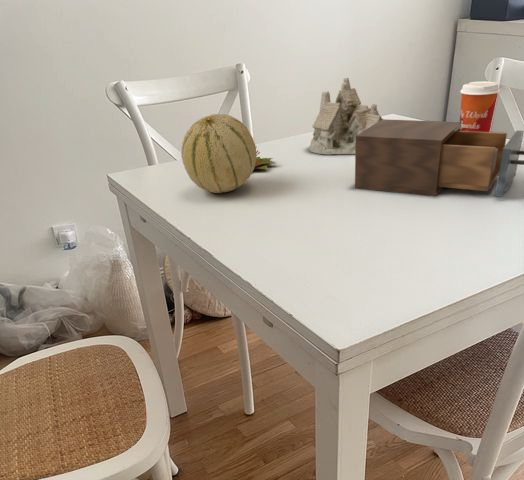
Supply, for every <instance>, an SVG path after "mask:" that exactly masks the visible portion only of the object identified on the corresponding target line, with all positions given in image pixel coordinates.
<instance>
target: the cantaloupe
mask: <svg viewBox="0 0 524 480" xmlns="http://www.w3.org/2000/svg"><path fill="white" fill-rule="evenodd" d="M181 144H182V145H181V152H180V153H181V160H182V164H183V166H184V167H183V168H184V169H185V171H186V173H187V175H188V178H189V179H190V180H191V181H192V182H193V183H194V184H195V185H196V186H197V187H198V188H200V189H201V190H204V191H206V192H208V193H209V192H211V193H214V194H222V193H230V192H232V191H234V190H237V189H239V188H240V187H241V186H243V185H244V184H245V183H246V182H247V181H248V179H250V178H251V176H252V174H253V172H254V170H255V169H254V167H255V164H256V157H257V156H256V155H257V153H256V152H257V146H256V143H255V141H254V138H253V136H252V134H251V132H250V131H249V129H248V128H247V126H246V125H245V124H244V123H243V122H242V121H241V120H239V119H237V118H236V117H234V116H232V115H229V114H224V113H223V114H221V113H212V114H209V115H206V116H203V117H201V118H200V119H198V120H196V121H195V122H194V123H192V125H191V126H190V127H189V128H188V130H187V131H186V133H185V134H184V136H183V140H182V142H181Z"/></svg>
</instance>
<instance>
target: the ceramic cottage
mask: <svg viewBox="0 0 524 480" xmlns="http://www.w3.org/2000/svg"><path fill="white" fill-rule="evenodd" d="M382 119H383V117H382V116H381V115H380V113H379V111H378V105H377V103H373V104H371V106H370V107H369V106H368V105H365V104H362V102H361V100H360V97H359V95H358V91H357V89H356V88H355V87H352V88H351V83H350V79H349V77H344V78H343V83H341V86H340V90H338V94H337V96H336V99H335V102H331V94H330V92H329V90H327V91H322V92H321V99H320V104H319V112H318V114H317V116H316V118H315V120H314V122H313V124H312V125H311V126H312V128H313V129H314V131H313V133H312V136H313V137H312V139H311V141H310V144H309V152H310V153H314V154H319V155H321V154H322V155H355V152H356V136H357V135H358V134H360V133H361V132H363V131H364V130H366V129H368V128H369V127H371V126H372V125H374V124H375V123H377V122H379V121H380V120H382Z"/></svg>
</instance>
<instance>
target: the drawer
mask: <svg viewBox="0 0 524 480" xmlns="http://www.w3.org/2000/svg"><path fill="white" fill-rule="evenodd" d="M507 136H508V132H503V131H502V132H501V131H500V132H498V131H490V132H479V131H456V132H455V133H454V134H453V135H452V136H451V137H450V138H449V139H447V140H446V141H445V142H444V143H443V144H442V152H441V162H440V171H439V181H438V187H443V188H448V189H459V190H460V189H461V190H469V191H470V190H471V191H482V192H489V190H490V189H491V188H492V186H493V185H494V183H495V181H497V183H496V188H495V194H494V195H495V196H498V197H503V196H504V194H505V193H506V191H507V190H508V188H509V186H510V185H511V183H512V182H513V179H514V178H515V176H516V175H517V170H518V165H519V166H520V165H522V166H524V159H519V158H520V156H524V150H521V148H522V142H523V137H524V130H516V131H515V132H514V134H512V136H511V137H510V139H509V140H508V141H507ZM496 148H498V153H497V159H496V165H495V172H494V174H493V176H492V177H491V174H492V167H493V161H494V155H495V149H496Z"/></svg>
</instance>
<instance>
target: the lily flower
mask: <svg viewBox="0 0 524 480" xmlns="http://www.w3.org/2000/svg"><path fill="white" fill-rule="evenodd" d="M259 154H261V152H260V151H259V150H256V164H255V167H254V170H255V169H259V170H268V165H267V164H270V165H271V164H272V165H274V164H276V165H277V163H275V162H274V161H272V160H273V157H263V158H261V157H260V156H258V155H259Z"/></svg>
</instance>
